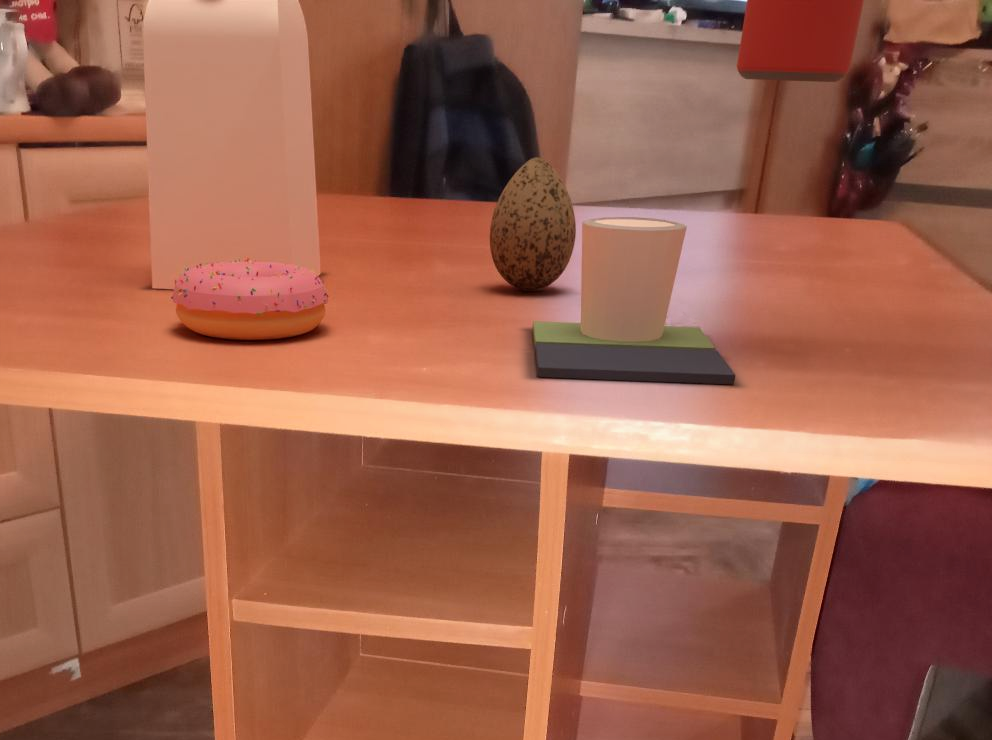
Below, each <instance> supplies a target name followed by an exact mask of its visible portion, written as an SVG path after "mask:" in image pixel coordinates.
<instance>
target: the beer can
mask: <svg viewBox="0 0 992 740" xmlns="http://www.w3.org/2000/svg"><path fill="white" fill-rule="evenodd" d="M864 1H865V0H746V5H745V11H744V19H743V25H742V31H741V37H740V44H739V49H738V54H737V55H738V57H737V62H736V69H737V72H738V74H739V76H740V77H741V78H743V79H744V80H756V81H757V80H760V81H786V82H788V81H789V82H817V83H818V82H819V83H820V82H821V83H836V82H839V81H841V80H843V79H844V78H845V77H846V76H847V74H848V73H849V72H850V70H851V64H852V60H853V55H854V51H855V46H856V40H857V36H858V32H859V27H860V21H861V16H862V11H863V7H864Z"/></svg>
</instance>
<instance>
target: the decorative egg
mask: <svg viewBox="0 0 992 740" xmlns="http://www.w3.org/2000/svg"><path fill="white" fill-rule="evenodd" d="M572 202H573V201H572V199H571V196H570V194H569V192H568V189H567V187H566V185H565V183H564V181H563V179H562V177H561V176H560V175H559V173H558V172H557V170H556V169H555V167H553V165H551V164H550V162H549V161H547V160H546V159H545V158H542V157H538V156H536V157H533V158H530V159H529V160H527V161H526V162H525V163H524V164H522V165H521V166H520V167H519V169H518V170H517V171H516V172H515V173H514V175H512V177H511V178H510V179H509V181H508V182H507V184H506V185H505V187H504V189H503V190H502V192H501V194H500V195H499V197H498V200H497V202H496V204H495V207H494V209H493V213H492V217H491V221H490V229H489V249H490V254H491V258H492V261H493V264H494V267H495V268H496V270H497V272H498V273H499V275H500V277H501V278H502V279H503V280H504V281H505V282H506V283H507V284H509V285H510V286H512V287H514V288H515V289H518V290H519V291H525V292H535V291H539V290H543V289H546V288H547V287H548V286H550V285H552V284H553V283H554V282H556V281H557V280H558V279H559V278H560V277H561V276H562V274H563V273H564V272H565V270H566V269H567V266H568V265H569V262H570V261H571V257H572V256H573V251H574V247H575V242H576V236H577V227H576V226H577V225H576V223H577V222H576V217H575V216H576V215H575V211H574V207H573V203H572Z"/></svg>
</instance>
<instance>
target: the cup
mask: <svg viewBox="0 0 992 740" xmlns="http://www.w3.org/2000/svg"><path fill="white" fill-rule="evenodd" d="M581 228H582V229H581V277H580V323H581V330H580V331H581V333H582V334H583V335H586V336H588V337H591V338H596V339H601V340H609V341H619V342H642V341H652V340H656V339H659V338H660V337H662V334H663V330H664V326H666V325H665V324H666V320H667V318H668V317H667V316H668V312H669V308H670V303H671V299H672V295H673V290H674V285H675V280H676V277H677V272H678V268H679V264H680V258H681V254H682V250H683V246H684V240H685V237H686V233H687V228H688V226H687V225H685V224H683V223H680V222H677V221H672V220H667V219H659V218H653V217H652V218H650V217H638V216H637V217H636V216H631V217H630V216H605V217H596V218H589V219H586V220H582V222H581Z"/></svg>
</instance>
